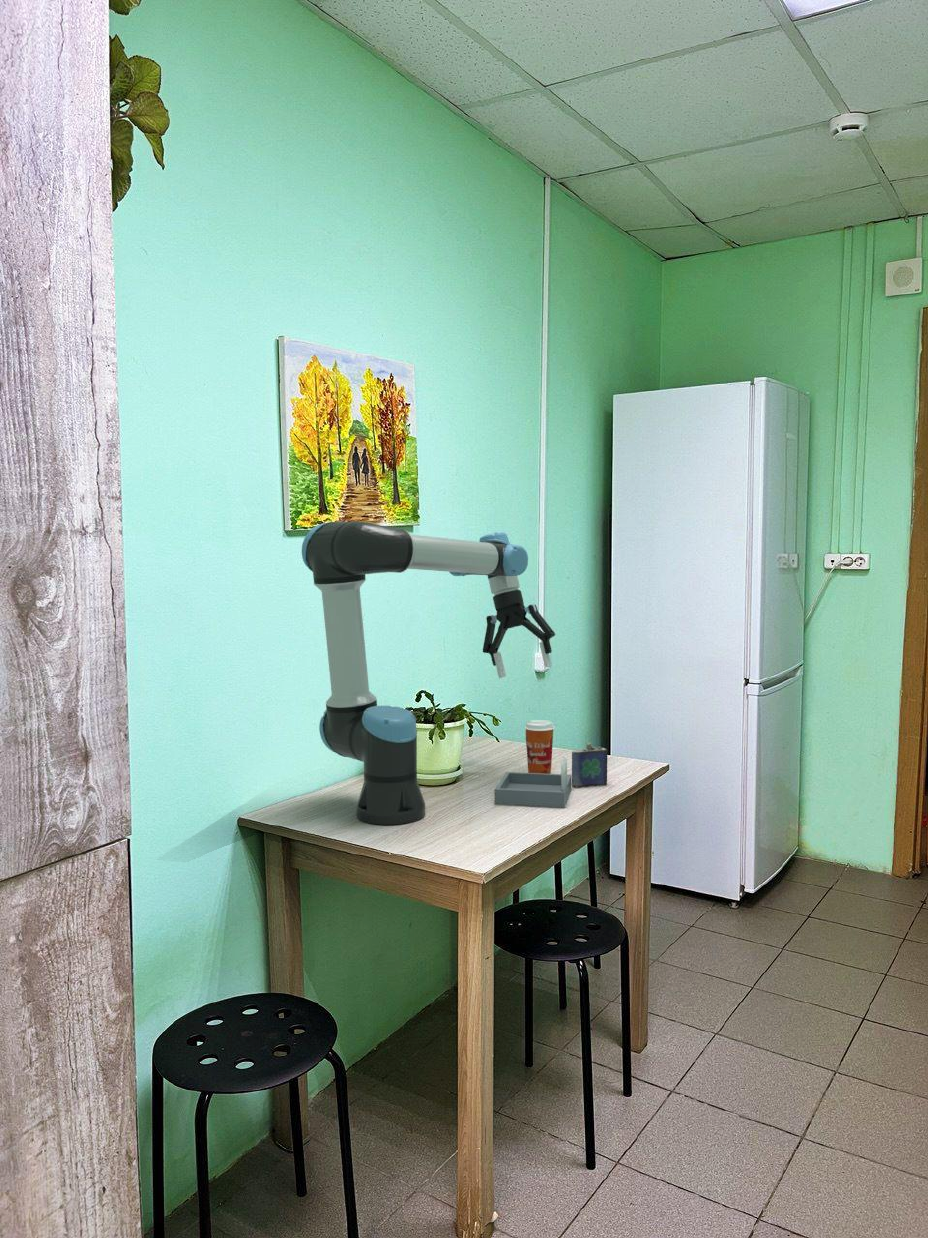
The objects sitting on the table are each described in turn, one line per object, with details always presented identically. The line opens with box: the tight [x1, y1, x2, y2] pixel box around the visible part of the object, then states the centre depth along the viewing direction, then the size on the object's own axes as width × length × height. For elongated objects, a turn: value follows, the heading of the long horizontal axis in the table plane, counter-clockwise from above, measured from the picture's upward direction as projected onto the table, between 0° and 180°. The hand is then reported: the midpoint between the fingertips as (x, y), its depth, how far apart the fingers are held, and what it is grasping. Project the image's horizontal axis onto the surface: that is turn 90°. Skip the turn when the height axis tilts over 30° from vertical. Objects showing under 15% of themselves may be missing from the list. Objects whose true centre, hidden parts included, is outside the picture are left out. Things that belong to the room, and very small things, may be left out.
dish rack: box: [493, 756, 572, 809], centre depth 215 cm, size 16×16×10 cm
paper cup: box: [523, 719, 556, 774], centre depth 232 cm, size 8×8×14 cm
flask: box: [571, 741, 609, 789], centre depth 224 cm, size 9×3×11 cm, turn 105°
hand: (525, 672), depth 235 cm, fingers open, 13 cm apart
